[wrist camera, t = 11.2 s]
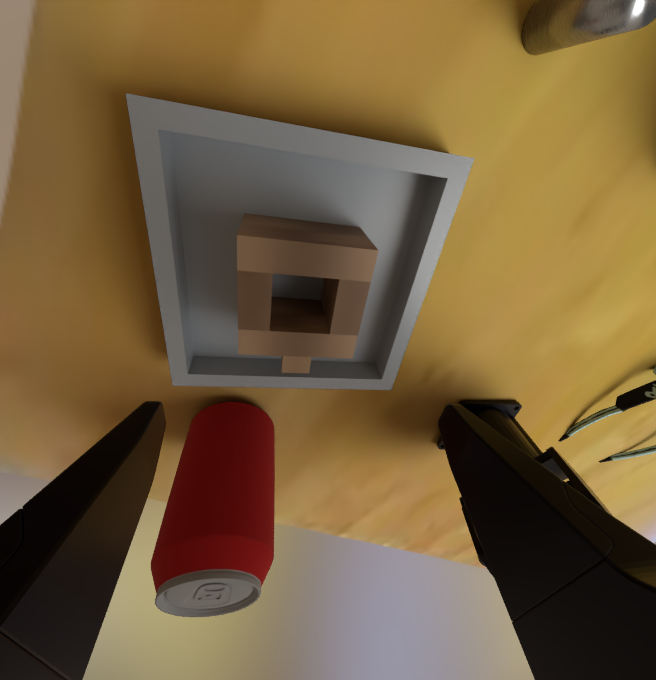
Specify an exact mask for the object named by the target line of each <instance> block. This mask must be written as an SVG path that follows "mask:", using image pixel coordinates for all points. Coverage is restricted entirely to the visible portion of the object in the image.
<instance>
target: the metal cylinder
mask: <svg viewBox="0 0 656 680" xmlns="http://www.w3.org/2000/svg"><path fill="white" fill-rule="evenodd" d="M655 18H656V0H538V1H537V2H536V3H535V4H534V5H533V7H532V8H531V9H530V11H529V13H528V15H527V17H526V19H525V22H524V25H523V30H522V42H523V46H524V48H525V50H526V51H527V52H528V53H529V54H531V55H540V54H544V53H548V52H552V51H556V50H560V49H563V48H567V47H571V46H575V45H579V44H583V43H586V42H590V41H594V40H598V39H602V38H606V37H610V36H613V35H617V34H621V33H625V32H629V31H633V30H636V29H640V28H642V27H644V26H646V25H648V24H649V23H650V22H652V21H653V20H654V19H655Z"/></svg>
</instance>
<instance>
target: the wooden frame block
mask: <svg viewBox="0 0 656 680" xmlns="http://www.w3.org/2000/svg"><path fill="white" fill-rule="evenodd" d="M378 251H379V250H378V249H377V248H376V247H375V245H374V244H373V243H372V242H371V240H370V239H369V238H368V237H367V235H366V234H365V233H364V232H363V230H362V229H361V228H360V227H354V226H346V225H338V224H330V223H321V222H313V221H305V220H297V219H289V218H280V217H272V216H264V215H256V214H247V213H244V216H243V219H242V222H241V225H240V228H239V230H238V233H237V289H238V354H241V355H269V356H281V368H282V373H309V371H310V364H311V357H323V358H351V359H353V354H354V350H355V346H356V342H357V338H358V334H359V330H360V325H361V321H362V317H363V313H364V309H365V305H366V301H367V296H368V292H369V288H370V284H371V280H372V276H373V272H374V267H375V263H376V259H377V255H378ZM273 274H284V275H296V276H307V277H319V278H324V284H323V291H322V297H321V300H312V299H298V298H285V297H272V280H273Z"/></svg>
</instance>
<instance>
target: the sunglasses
mask: <svg viewBox="0 0 656 680" xmlns="http://www.w3.org/2000/svg"><path fill="white" fill-rule="evenodd" d="M653 373H654V374H655V375H656V367H655V368H654V370H653ZM655 399H656V380H655V381H653V382H650V383H648V384H645V385H643V386H641V387H638V388H636V389H633V390H631V391H629V392H626V393H624V394H622V395H620V396H618V397H617V400H616V405H614V406H612V407H609V408H606V409H603V410H601V411H599V412H597V413H595V414H593V415H591V416H589V417H587V418H585V419H583V420H581V421H580V422H578V423H576V424H575V425H573V426H572V427H571V428H570V429H569V430H568V431H567V432H566V434H565V435H564V437H563V438H561V439H560V440H559V441H563V440H565V439H567V438H568V437H570V436H572V435H573V434H574V433H576V432H578V431H579V430H581V429H583V428H585V427H586V426H588V425H590V424H592V423H594V422H596V421H598V420H600V419H603V418H605V417H608V416H610V415H613V414H617V413H620V412H623V411H625V410H627V409H629V408H632V407H635V406H638V405H641V404H643V403H646V402H649V401H652V400H655ZM655 452H656V445H654V446H651V447H647V448H643V449H638V450H634V451H630V452H624V453H619V454H615V455H613V456H610V457H608V458H606V460H601V461H600V462H606V461H612V460H619V459H626V458H631V457H636V456H641V455H647V454H651V453H655Z"/></svg>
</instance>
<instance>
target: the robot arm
mask: <svg viewBox="0 0 656 680" xmlns="http://www.w3.org/2000/svg"><path fill="white" fill-rule="evenodd" d="M521 407H522V406H521V404H520V403H519V402H517V401H461V402H459V403H458V404H447V405H446V406H445V408H444V410H443V412H442V414H441V416H440V418H439V421H438V427H439V430H440V434H441V436H440V438H439V440H438V442H437V446H438V448H439V449H445V451H446V455H447V458H448V462H449V465H450V468H451V470H452V473H453V476H454V478H455V481H456V483H457V486H458V488H459V491H460V493H461V496H462V497H460V498H459V499H460V502H461V505H462V511H463V514H464V517H465V520H466V523H467V526H468V528H469V531H470V534H471V537H472V540H473V543H474V546H475V549H476V552H477V554H478V559H479V561H480V563H481V564H482V565H484V566H485V567H487V569H488V570H489V572H490V573H491V574H492V575H493V577H494V578H495V581H496V583H497V586H498V588H499V591H500V593H501V596H502V598H503V600H504V603H505V606H506V608H507V611H508V613H509V616H510V618H511V620H512V621H513V622H512V624H513V626H514V629H515V631H516V634H517V636H518V639H519V641H520V644H521V646H522V648H523V651H524V654H525V656H526V659H527V661H528V664H529V666H530V669H531V671H532V674H533V676H534V679H535V680H656V545H655V544H654V543H652V542H651V541H649V540H648V539H646V538H645V537H643V536H642V535H640V534H639V533H637V532H636V531H634V530H633V529H631V528H630V527H628V526H627V525H625V524H624V523H622V522H621V521H619V520H618V519H616V518H615V517H613V516H612V514H611V513H610V512H609V511H608V509H607V508H606V507H605V506H604V504H603V503H602V502H601V501H600V500H599V498H598V497H597V496H596V495H595V493H594V492H593V491H592V490H591V489H590V487H589V486H588V485H587V484H586V483H585V482H584V481H583V479H582V478H581V477H580V476H579V475H578V474H577V472H576V471H575V470H574V469H573V468H572V467H571V466H570V465H569V464H568V463H567V461H566V460H565V459H564V458H563V457H562V456H561V455H560V454H559V453H558V452H557V451H556V450H555V449H554V448H553V447H550V448H548V449H547V450H546V452H544V453H542V452H541V450H540V449H539V448H538V447H537V445H536V444H535V443H534V442H533V440H532V439H531V438H530V437H529V435H528V434H527V433H526V432H525V431H524V429H523V428H522V427H521V426H520V424H519V423H518V422H517V421H516V419H515V416H516V415H517V413H518V412H519V410H520V409H521ZM165 427H166V420H165V415H164V410H163V405H162V403H161V402H159V401H147V402H144V403H143V404H142V405H140V406H139V407H138V408H137V409H136V410H134V411H133V412H132V413H131V414H130V415H129V416H127V417H126V418H125V419H124V420H123V421H122V422H120V423H119V424H118V425H117V426H116V427H115V428H113V429H112V430H111V431H110V432H109V433H108V434H106V435H105V436H104V437H103V438H102V439H101V440H99V441H98V442H97V443H96V444H95V445H94V446H92V447H91V448H90V449H89V450H88V451H87V452H85V453H84V454H83V455H82V456H81V457H80V458H78V459H77V460H76V461H75V462H74V463H73V464H71V465H70V466H69V467H68V468H67V469H66V470H64V471H63V472H62V473H61V474H60V475H59V476H57V477H56V478H55V479H54V480H53V481H52V482H50V483H49V484H48V485H47V486H46V487H45V488H43V489H42V490H41V491H40V492H39V493H37V494H36V495H35V496H34V497H33V498H32V499H30V500H29V501H28V502H27V503H26V504H25V505H24V506H23V509H19V510H17V511H16V512H15V513H14V514H13V515H12V516H10V517H9V518H8V519H7V520H6V521H5V522H3V523H2V524H1V525H0V680H82V679H83V676H84V674H85V670H86V668H87V665H88V662H89V659H90V657H91V654H92V651H93V648H94V646H95V643H96V640H97V637H98V634H99V631H100V629H101V626H102V623H103V620H104V618H105V615H106V612H107V609H108V606H109V603H110V601H111V598H112V595H113V592H114V589H115V586H116V584H117V581H118V578H119V576H120V572H121V570H122V567H123V564H124V561H125V559H126V556H127V553H128V550H129V547H130V545H131V542H132V539H133V536H134V533H135V531H136V528H137V525H138V522H139V519H140V516H141V514H142V511H143V508H144V505H145V502H146V500H147V497H148V494H149V491H150V489H151V486H152V482H153V479H154V475H155V471H156V467H157V463H158V458H159V454H160V449H161V445H162V441H163V436H164V432H165ZM567 478H568V479H569V481H567V482H564V481H563V480H565V479H567Z"/></svg>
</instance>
